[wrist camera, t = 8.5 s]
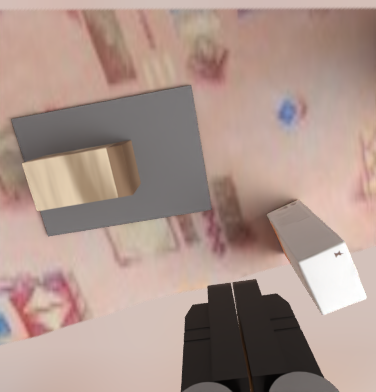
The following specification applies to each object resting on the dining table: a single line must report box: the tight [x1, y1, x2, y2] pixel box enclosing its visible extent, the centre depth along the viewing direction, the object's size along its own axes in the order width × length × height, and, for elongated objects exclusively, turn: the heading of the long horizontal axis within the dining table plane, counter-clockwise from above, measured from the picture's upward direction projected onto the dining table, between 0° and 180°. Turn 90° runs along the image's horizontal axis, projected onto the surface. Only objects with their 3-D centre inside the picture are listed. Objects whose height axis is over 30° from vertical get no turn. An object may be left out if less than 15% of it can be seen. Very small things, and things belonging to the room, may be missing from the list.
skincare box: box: [267, 200, 366, 315], centre depth 32 cm, size 6×4×12 cm
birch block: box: [22, 140, 141, 211], centre depth 34 cm, size 5×5×10 cm
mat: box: [11, 85, 212, 236], centre depth 36 cm, size 20×14×1 cm
